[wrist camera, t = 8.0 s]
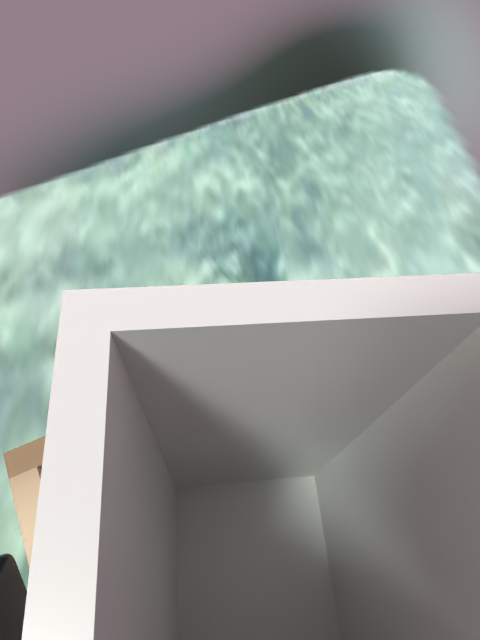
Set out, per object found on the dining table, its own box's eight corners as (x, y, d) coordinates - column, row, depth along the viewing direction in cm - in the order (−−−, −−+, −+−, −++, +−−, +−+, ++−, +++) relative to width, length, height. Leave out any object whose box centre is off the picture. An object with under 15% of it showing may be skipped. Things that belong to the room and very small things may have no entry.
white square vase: (359, 662, 14) (848, 963, 3) (159, 687, 13) (-40, 1148, 3) (324, 460, 17) (520, 271, 6) (159, 473, 16) (62, 289, 6)
